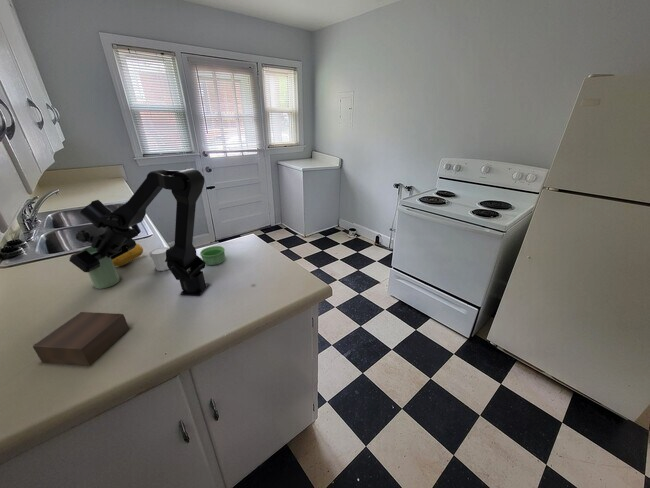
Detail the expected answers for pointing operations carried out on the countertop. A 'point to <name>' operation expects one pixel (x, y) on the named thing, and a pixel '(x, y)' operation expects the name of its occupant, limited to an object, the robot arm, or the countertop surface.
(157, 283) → the countertop surface
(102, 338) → the block
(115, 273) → the tumbler
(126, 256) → the potato
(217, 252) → the ramekin
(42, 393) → the countertop surface
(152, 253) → the white cup
